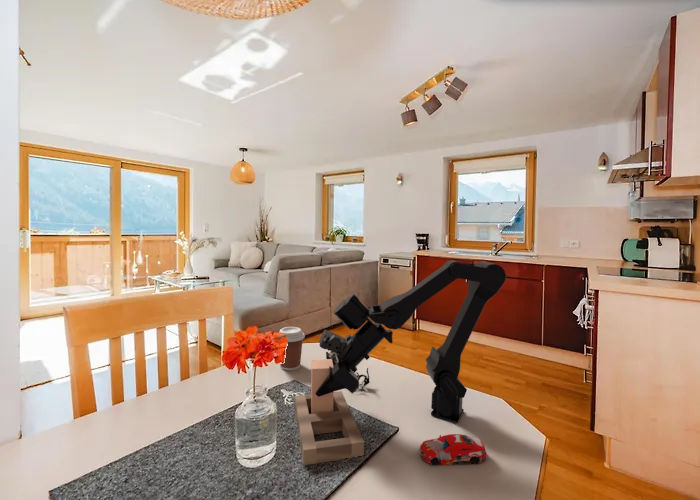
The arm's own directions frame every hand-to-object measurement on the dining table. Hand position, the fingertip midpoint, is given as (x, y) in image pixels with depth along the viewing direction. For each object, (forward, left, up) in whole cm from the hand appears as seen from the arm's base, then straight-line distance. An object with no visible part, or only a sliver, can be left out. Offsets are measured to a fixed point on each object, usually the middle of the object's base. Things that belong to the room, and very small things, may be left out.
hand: (316, 389), depth 80 cm
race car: (-31, -4, -7) cm, 32 cm away
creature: (0, -18, -7) cm, 20 cm away
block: (-1, -1, -7) cm, 7 cm away
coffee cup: (+25, -19, -7) cm, 32 cm away
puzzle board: (-5, +3, -7) cm, 9 cm away
